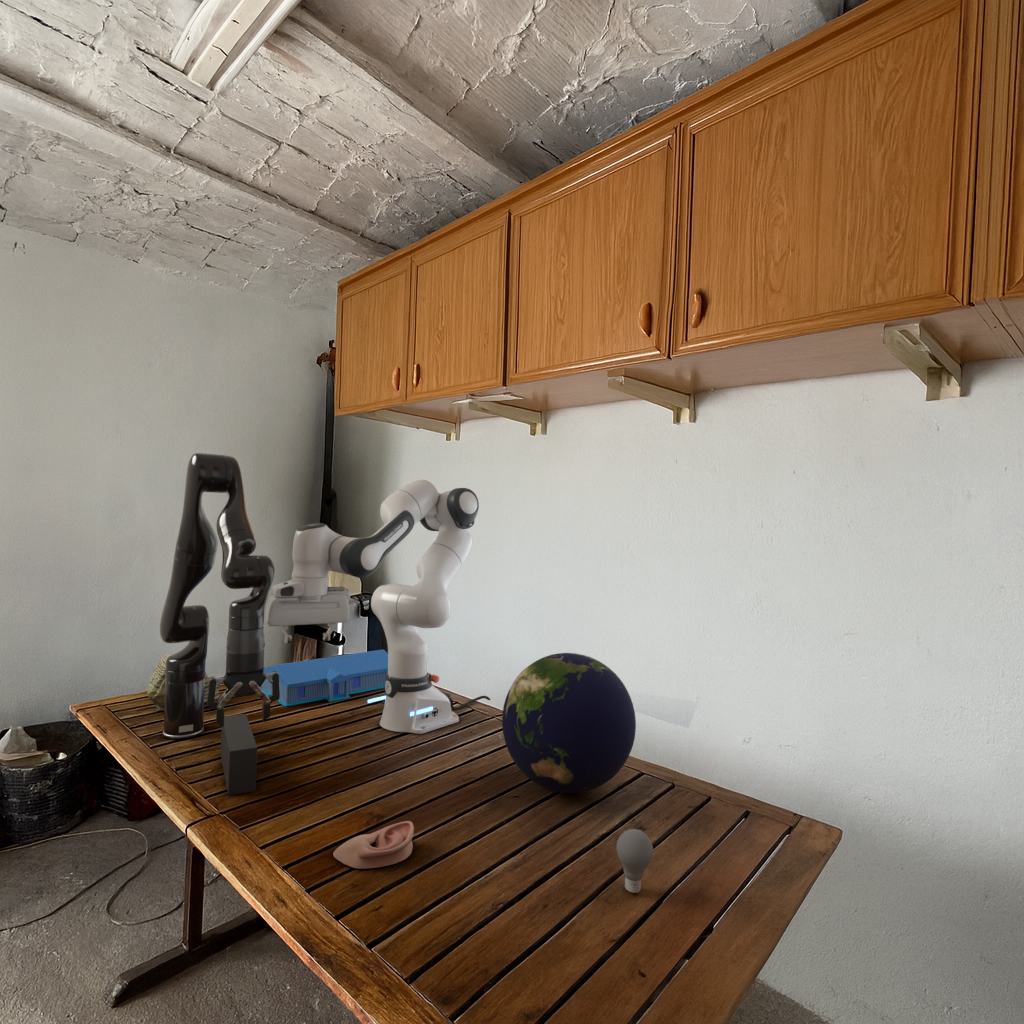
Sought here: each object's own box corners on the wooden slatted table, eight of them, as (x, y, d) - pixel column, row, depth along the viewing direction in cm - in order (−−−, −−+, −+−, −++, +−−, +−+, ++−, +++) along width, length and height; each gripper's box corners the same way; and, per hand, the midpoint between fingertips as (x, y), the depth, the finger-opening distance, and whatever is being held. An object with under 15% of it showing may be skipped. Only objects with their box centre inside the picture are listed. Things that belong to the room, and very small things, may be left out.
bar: (255, 791, 135) (257, 747, 135) (228, 795, 132) (229, 751, 132) (244, 751, 155) (246, 713, 155) (220, 754, 153) (221, 716, 152)
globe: (477, 800, 135) (483, 660, 134) (527, 751, 163) (532, 634, 162) (615, 833, 124) (622, 681, 123) (643, 774, 151) (649, 649, 151)
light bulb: (610, 879, 108) (613, 822, 108) (644, 879, 109) (647, 822, 109) (619, 902, 102) (622, 840, 102) (655, 901, 103) (658, 840, 103)
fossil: (144, 707, 182) (145, 655, 182) (212, 696, 194) (213, 647, 194) (151, 716, 175) (153, 662, 175) (221, 703, 188) (223, 653, 188)
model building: (289, 709, 186) (291, 675, 185) (258, 688, 204) (259, 657, 204) (403, 687, 212) (405, 657, 212) (366, 670, 230) (368, 643, 230)
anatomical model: (325, 840, 109) (354, 809, 121) (324, 863, 109) (354, 830, 121) (397, 852, 107) (421, 819, 118) (396, 876, 107) (420, 840, 118)
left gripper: (277, 642, 143) (275, 713, 143) (208, 646, 136) (205, 721, 136) (283, 649, 136) (280, 724, 136) (210, 654, 129) (207, 733, 130)
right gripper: (347, 584, 168) (345, 636, 168) (265, 586, 159) (263, 641, 159) (353, 587, 163) (351, 641, 163) (269, 590, 153) (267, 647, 153)
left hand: (243, 723), depth 136 cm, fingers open, 8 cm apart
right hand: (307, 641), depth 161 cm, fingers open, 8 cm apart
